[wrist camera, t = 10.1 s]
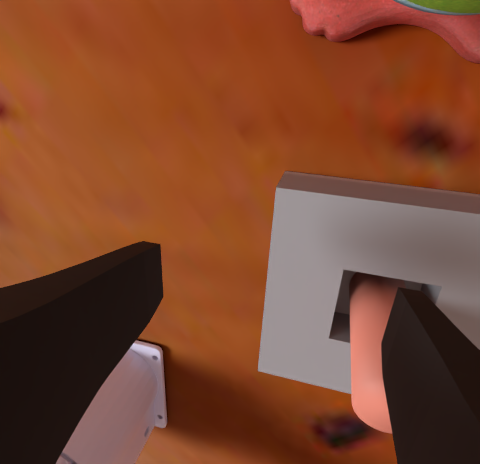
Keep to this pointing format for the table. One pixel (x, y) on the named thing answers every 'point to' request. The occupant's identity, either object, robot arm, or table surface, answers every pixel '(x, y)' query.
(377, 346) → the peg
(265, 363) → the socket block
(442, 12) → the stacking bear
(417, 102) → the table surface
